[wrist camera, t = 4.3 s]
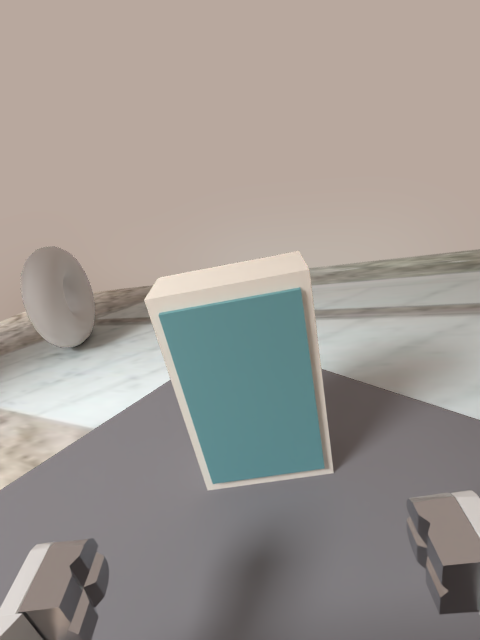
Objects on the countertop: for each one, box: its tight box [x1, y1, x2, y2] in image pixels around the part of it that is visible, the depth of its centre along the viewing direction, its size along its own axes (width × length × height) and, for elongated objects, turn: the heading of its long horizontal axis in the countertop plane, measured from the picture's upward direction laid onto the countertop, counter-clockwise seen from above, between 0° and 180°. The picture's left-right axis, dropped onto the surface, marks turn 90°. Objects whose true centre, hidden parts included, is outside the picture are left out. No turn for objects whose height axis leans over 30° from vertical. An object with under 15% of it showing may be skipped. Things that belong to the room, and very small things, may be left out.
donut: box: [21, 247, 95, 348], centre depth 36 cm, size 10×4×10 cm, turn 4°
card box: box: [144, 251, 334, 490], centre depth 16 cm, size 6×3×10 cm, turn 90°
